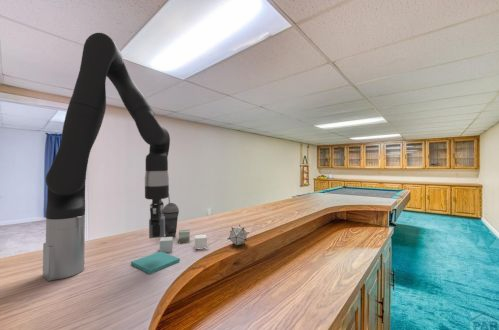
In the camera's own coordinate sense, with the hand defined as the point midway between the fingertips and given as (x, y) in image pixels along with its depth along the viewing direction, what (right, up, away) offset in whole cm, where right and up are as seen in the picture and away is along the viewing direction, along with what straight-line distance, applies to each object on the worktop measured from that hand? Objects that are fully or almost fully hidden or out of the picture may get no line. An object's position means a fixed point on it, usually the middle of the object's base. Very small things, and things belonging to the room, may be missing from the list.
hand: (157, 233), depth 75 cm
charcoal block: (0, -1, 0) cm, 1 cm away
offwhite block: (+12, -10, +14) cm, 21 cm away
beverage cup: (-5, -10, +27) cm, 29 cm away
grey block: (-1, -10, +11) cm, 15 cm away
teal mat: (0, -10, -1) cm, 10 cm away
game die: (+27, -10, +17) cm, 33 cm away
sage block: (+3, -10, +22) cm, 25 cm away
